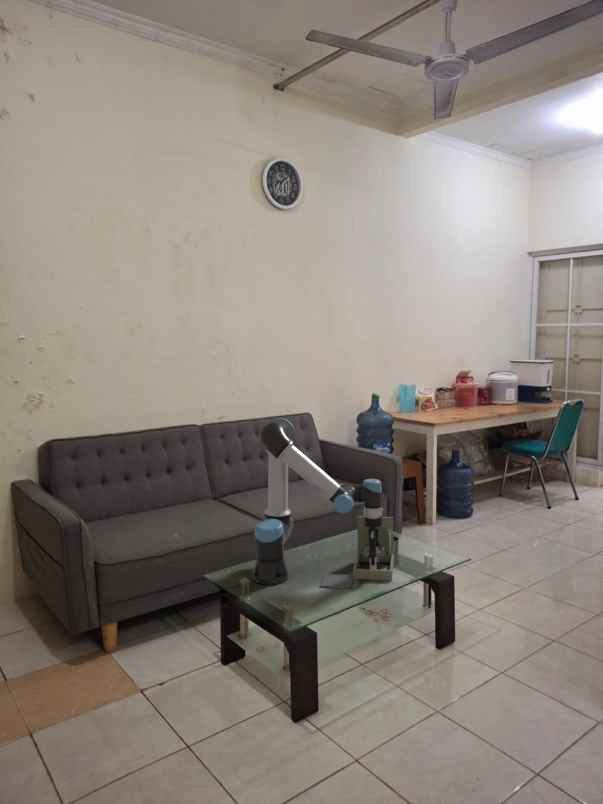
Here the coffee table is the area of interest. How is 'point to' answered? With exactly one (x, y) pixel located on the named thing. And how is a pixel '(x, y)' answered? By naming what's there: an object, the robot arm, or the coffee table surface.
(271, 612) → the coffee table surface
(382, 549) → the mechanical component
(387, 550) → the case
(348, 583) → the mat
